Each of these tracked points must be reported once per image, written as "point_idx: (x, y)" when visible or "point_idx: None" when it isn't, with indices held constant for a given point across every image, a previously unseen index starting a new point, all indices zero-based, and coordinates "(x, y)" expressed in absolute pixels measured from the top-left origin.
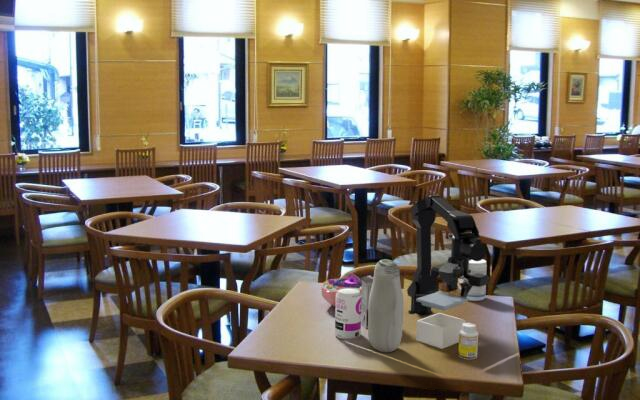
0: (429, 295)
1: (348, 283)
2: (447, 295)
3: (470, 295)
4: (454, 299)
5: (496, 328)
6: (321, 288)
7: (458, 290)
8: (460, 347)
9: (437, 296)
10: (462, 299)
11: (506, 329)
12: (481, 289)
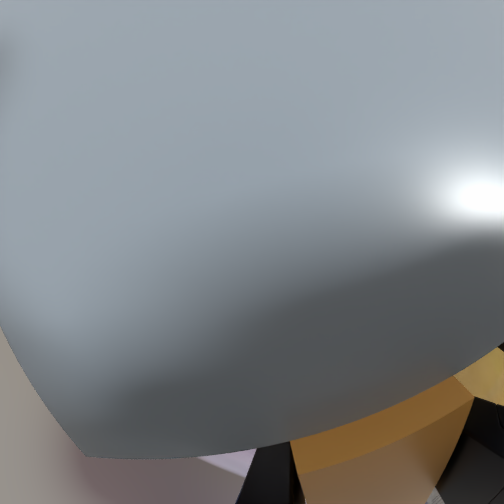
0: (496, 4)
1: None
2: (428, 256)
3: None
4: (59, 175)
5: (256, 448)
6: None
7: (396, 500)
8: None
9: (445, 21)
10: (26, 345)
11: (231, 461)
12: (431, 495)
